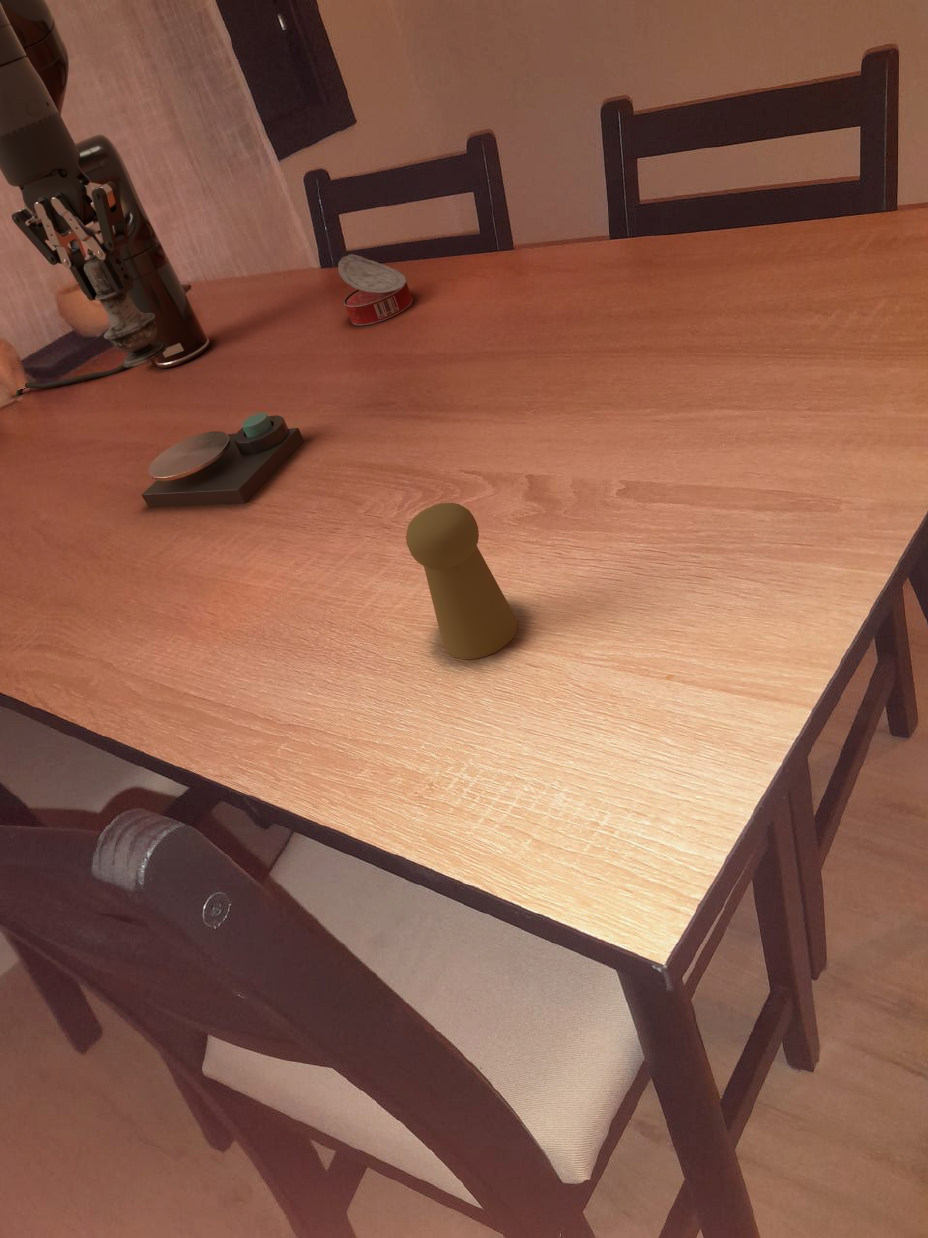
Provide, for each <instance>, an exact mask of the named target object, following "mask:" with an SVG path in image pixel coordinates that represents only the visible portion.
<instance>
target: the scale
mask: <svg viewBox="0 0 928 1238" xmlns="http://www.w3.org/2000/svg"><path fill="white" fill-rule="evenodd" d="M268 418H269V420H270V422H271V424H272V427H271V428H270V429H269V430H268V431H266V432H264V433H263V434H261V435H258V436H255V437H247V436H246V434H245V432H244V430H243V428H242V427H241V428H239V430H238V431H237V432H235V433H226V434H227V435H228V436H229V438H230V446H229V447H228V449H227V450H226V452H225V453H224V454H223V455H222V456H221V457H219V458H218V459H217V460H216V461H214V462H213V463H211V464H210V465H208V466H207V467H205V468H203V469H201V470H199V471H197V472H195V473H193V474H190V475H188V476H185V477H182V478H179V479H175V480H170V481H157V480H155V481H154V482H153V483H152V484H151V485H150V486H149V487H147V488H146V489H145V490H144V491H143V492H142V494H140V495H141V497H142V499H143V500H144V502H145V504H146V505H147V507H148V508H151V509H152V508H170V507H171V508H173V507H193V506H194V507H195V506H217V505H241V504H247V503H248V502H249V501H250V499H252V497H254V495H255V494H256V493H257V492H258V491H259V490H260V489H261V488H262V487H263V486H264V484H265V483H266V482H268V480H269V479H271V477H272V476H273V475H274V474H275V473H276V472H277V471H278V470H279V469H280V468H281V467H282V466H283V464H284V463H285V462H286V461H287V460H289V458H290V457H291V456H292V455H293V454H294V453H295V452H296V451H297V450H298V449H299V448H300V447H301V445H302V444H303V443H304V442H305V439H304V436H303V435H302V432H301V431H300V429H299V427H293V428H292V427H290V428H289V426H288V425H287V423H286V420H285V419H284V417H283V416H280V415H278V414H274V415H268Z"/></svg>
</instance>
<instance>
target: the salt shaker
mask: <svg viewBox="0 0 928 1238" xmlns="http://www.w3.org/2000/svg"><path fill="white" fill-rule="evenodd" d="M86 254H87V255H88V256H89V257H88V261H87V262H86V263H85V265H84V271H85V273H86V275H87V277H88V279H89V280H90V282H91V284H92V286H93V288H94V290H95V291H96V293H97V295H96V297H95V299H96V300H95V301H99V302H100V304H101V306H102V308H103V309H104V312H105V313H106V315H107V318H108V321H109V328H108V330H106V332H104V335H103V338H104V339H105V340H108V341H109V342H110V344H111V345H112V346H113V347H114V348H115V349H116V350H118V351H120V352H123V353H129V352H131V353H130V354H129V355H127V354H126V356H125V358H124V360H123V362H122V364H123V366H124V367H127V368H133V367H137V366H140V365H142V364H145V363H148V362H151V360H152V359H154V358H156V357H158V356H159V355H161V354H162V353H163V352H164V351H166V349H167V347H168V346H167V344H165V343H160V342H155V343H151V342H153V341H154V339H155V337H156V333H157V328H156V323H155V321H154V318H155V315H154V314H153V313H143V312H140V311H139V310H138V309H137V308H136V306H135V305H134V304H133V302H132V300H131V298H130V296H129V294H128V292H127V293H125V294H121V295H118V294H116V293H115V291H114V289H113V287H112V285H111V283H110V281H109V280H108V278H107V276H106V274H105V272H104V270H103V268H102V267H101V265H100V263H99V262H100V261H101V260H100V259H99V258H98V257H97V256H96V255H95V253H94V252H93V251H92V249H91V248H87V250H86ZM150 343H151V344H150Z"/></svg>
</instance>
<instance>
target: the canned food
mask: <svg viewBox="0 0 928 1238" xmlns="http://www.w3.org/2000/svg"><path fill="white" fill-rule="evenodd" d="M337 264H338V265H337V267H338V274H339V277H341V279H342V280H343V281H344V283H346V284H347V285H349V286H350V287H352V288H353V289H356V290H354V291H352V292H351V293H350V294H348V295H347V296H346V297H345V299H344V301H343V305H344V306H345V309H346V312H347V315H348V317H349V320H350V322H351V324H353V325H355V326H369V325H374V324H377V323H380V322H384V321H386V320H389V319H391V318H393V317H395V316H397V315H399V314H401V313H402V312H404V311H405V310H406V309H408V308H409V307H410V306H411V305H412V303H413V300H414V299H413V296H412V294H411V291H410V288H409V286H408V282H407V279H406V276H405V275H404V274H403V273H401V272H400V271H399V270H397V269H395V268H392V267H390V266H388V265H387V264H383V263H379V262H377V261H375V260H371V259H368V258H366V257H364V256H361V255H357V254H353V253H350V254H348V255H343V256H342V257H341V258H340V260H339V261H338V263H337Z"/></svg>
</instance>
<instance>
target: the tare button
mask: <svg viewBox="0 0 928 1238" xmlns="http://www.w3.org/2000/svg"><path fill="white" fill-rule="evenodd" d="M268 416H269V415H268V413H266V412H258V413H255V414H252V415H250V416H249V417H247V418H246V419H244V420H243V421H242V422H241V428H243V430H244V432H245V434H246V436H247V437H255V436H258V435H261V434H263V433H264V432H266V431H268V430H269V429H270V428H271V427H272V424H271V422H270V420H269V418H268Z"/></svg>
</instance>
